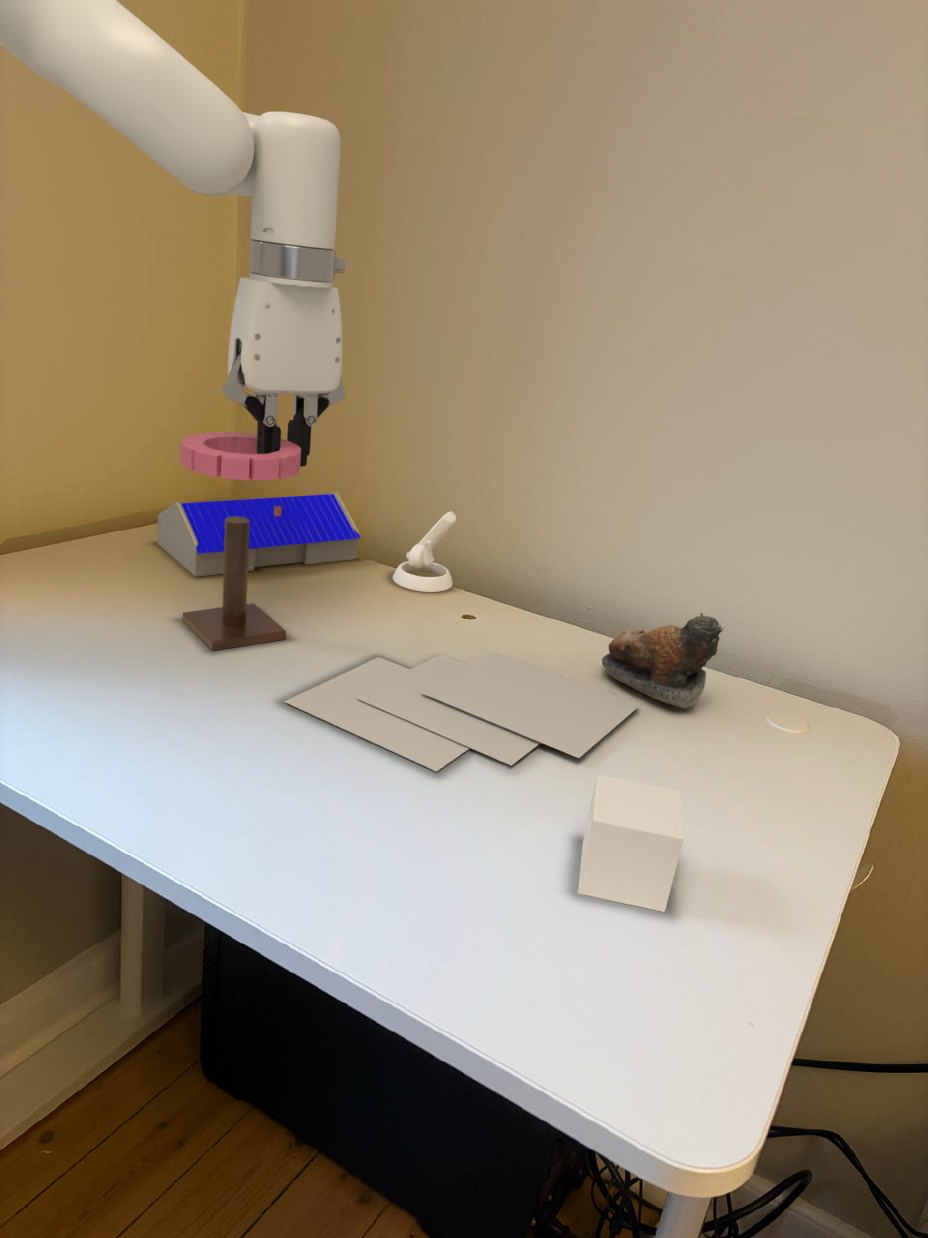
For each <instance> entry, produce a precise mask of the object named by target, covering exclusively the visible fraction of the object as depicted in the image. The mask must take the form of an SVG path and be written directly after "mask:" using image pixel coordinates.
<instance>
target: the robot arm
mask: <svg viewBox="0 0 928 1238" xmlns="http://www.w3.org/2000/svg"><path fill="white" fill-rule="evenodd" d="M0 46H2V47H3V48H4V49H5V50H6V51H7V52H9V53H10V54H11V55H12V56H13V57H15V58H16V59H17V60H19V61H20V62H21V63H22V64H23V65H25V66H27V68H28V69H30V70H31V71H33V72H34V73H35V74H36V75H38V76H39V77H41V78H42V79H44V80H46V81H48V82H50V83H52V84H54V85H56V86H58V87H60V88H61V89H62V90H64V91H66V92H67V93H68V94H70V95H71V96H73V97H74V98H76V99H77V100H78V101H79V102H81V104H83V105H84V106H85V107H87V108H88V109H89V110H91V111H92V112H93V113H95V115H97V116H98V117H99V118H101V119H103V120H104V122H106V123H107V124H108V125H109V126H111V127H112V128H113V129H115V130H116V131H117V132H118V133H120V134H121V135H122V136H123V137H125V138H126V139H127V140H129V141H130V143H132V144H133V145H134V146H135V147H137V148H138V149H140V150H141V151H142V152H143V153H144V154H146V155H147V156H148V157H149V158H150V159H152V160H153V161H154V162H155V163H156V164H157V165H159V166H160V167H161V168H163V169H164V170H165V171H166V172H167V173H168V174H170V175H171V176H172V177H173V178H174V179H175V180H177V181H178V183H180V184H181V185H182V186H184V187H185V188H187V189H188V190H189V191H192V192H194V193H196V194H199V195H202V196H209V197H210V196H211V197H218V196H249V197H250V196H251V219H250V244H249V245H250V248H249V277H247V276H241V277H240V278H239V282H238V285H237V291H236V294H235V299H234V305H233V310H232V317H231V324H230V334H229V344H228V356H227V373H228V374H227V375H228V376H227V379H226V380H225V383H224V385H223V387H222V390H221V394H222V396H223V397H225V398H227V399H229V400H231V401H233V402H235V403H238V404H239V405H242V406H243V407H244V408H245V409H246V411H247V412H248V413H249V414H250V415H251V416H252V418H253V420H255V421H256V422H257V424H256V425H257V427H256V434H257V454H268V453H272V452H276V451H279V450H280V445H281V439H282V429H281V428H282V427H280V426H278V425H277V413H278V402H279V401H278V400H279V394H289V395H290V394H293V416H292V419H289V420H288V422H287V434H286V435H287V437H286V441H290V442H292V443H294V444H296V445H297V446H299V447H300V448H301V463H300V468H301V467H302V468H303V467H307V465H308V456H309V455H310V454H311V439H312V427H314V426H316V425H317V422H318V418H319V417H320V416H321V415H322V414H323V413H324V412H325V411H326V410H327V409H328V408H329V407H330V406H333V405H335V404H337V403H340V402H341V401H343V400H344V399H345V398H346V397H347V396H346V395H347V393H346V390H345V386H344V383H343V381H342V368H343V322H342V309H341V301H340V295H339V288H338V287H336V286H333V281H335V275H336V274H343V273H344V272H345V269H346V261H345V259H344V258H342V257H341V258H340V257H337V255H336V254H337V251H336V250H335V246H336V241H335V240H336V232H337V231H336V230H337V218H338V217H337V215H338V214H337V213H338V200H339V199H338V198H339V185H340V184H339V181H340V169H341V168H340V167H341V166H340V165H341V152H342V151H341V149H342V148H341V146H342V145H341V143H342V142H341V141H342V140H341V135H340V131H339V130H338V128H337V126H336V125H335V124H334V123H332V122H330V120H328V119H325V118H321V117H318V116H314V115H310V114H304V113H297V112H292V111H267V112H264V113H262V114H261V115H257V114H253V113H248V112H244V111H242V110H241V108H240V107H239V106H238V105H237V103H235V102H234V101H233V99H232V98H230V97H229V96H228V95H227V94H226V93H225V92H224V91H223V90H222V89H220V87H219V86H217V85H216V84H215V83H213V81H212V80H210V79H209V78H208V77H207V76H206V75H204V74H203V73H202V72H201V71H200V70H199V69H198V68H196V67H195V65H193V64H192V63H190V61H188V60H187V59H186V57H184V56H183V55H182V54H181V53H180V52H178V51H177V50H176V49H175V48H173V46H171V45H170V44H169V43H168V42H166V40H164V39H163V38H162V37H161V36H159V35H158V34H157V33H156V32H155V31H154V30H152V29H151V28H150V27H149V26H148V25H146V24H145V23H144V22H143V21H142V20H140V18H138V17H137V16H136V15H135V14H134V13H132V12H131V11H129V9H127V7H125V6H124V5H123V4H121V3H120V2H119V0H0ZM245 386H246V388H247V389H248V390H250V391H252V392H253V395H252V394H250V393H248V392H246V391H245V388H244V387H245Z"/></svg>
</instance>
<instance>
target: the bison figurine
mask: <svg viewBox="0 0 928 1238" xmlns="http://www.w3.org/2000/svg"><path fill="white" fill-rule="evenodd" d="M724 629H725V625H724V622H722V623H721V625H720V624H719V621H718V620H717V618H715V617H711V616H708V615H704V613H703V612H700V614H698V615H697V616H695V617H694V618H693V617H692V618H691V619H689V620H687V622H686V624H685V625H684V626H683V627H678V626H676V625H673V624H671V625H665V626H663V625H662V626H660V627H657V628H654V629H652V630H649V631H645V630H644V629H642V628H640V627H639V628H634V629H630V630H625V631H621V632H620V633H618V634H617V635H616V636H615V637H614V638H613V639H612V640H611V641H610V643H609V644H608V653H606V654H604V656H603V657H602V658H601V665H602V667H603V668H604V669H605V671H606V672H607V673H608V674H609V675H610V676H611V677H612V678H613V679H614V680H616V681H618V682H620V683H622V684H625V685H627V686H629V687H630V688H632V689H633V690H635V691H637V692H639V693H641V694H644V695H645V696H647V697H650V698H652V699H654V700H656V701H659V702H662V703H664V704H668V705H670V706H674V707H677V708H681V709H682V708H683V709H687V708H690V707H692V706H694V705H695V703H696V702H697V701H698V700H699V698H700V696H701V695H702V693H703V692H704V689H705V686H706V677H707V672H706V670H705V669H703V668H704V667H705V666H707V663H708V661H710V660H711V659H712V657H714V656H716V655H717V653H718V646H719V641H720V634H721V633H722V632H723V631H724Z"/></svg>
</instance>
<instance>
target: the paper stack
mask: <svg viewBox="0 0 928 1238" xmlns="http://www.w3.org/2000/svg"><path fill="white" fill-rule="evenodd" d="M284 703H285V704H287V705H291V706H292V707H294V708H297V709H299V710H301V711H303V712H305V713H307V714H310V715H312V716H314V717H316V718H318V719H320V720H323V721H325V722H327V723H329V724H330V725H331V724H332V725H334V726H336V727H339V728H340V729H342V730H345V731H347V732H349V733H350V734H351V733H352V734H353V735H356V736H358V737H360V738H361V739H364V740H366V741H369V742H371V743H373V744H375V745H376V746H377V745H378V746H380V747H381V748H384V749H386V750H388V751H391V752H392V753H394V754H397V755H398V756H401V757H404V758H405V759H408V760H410V761H412V762H415V763H416V764H419V765H421V766H423V767H425V768H428V769H429V770H432V771H434V772H438V771H440V770H441V769H442V768H444V767H445V766H447V765H448V764H450V763H451V762H452V761H454V760H455V759H457V758H458V757H460V756H461V755H463V754H464V753H466V752H467V751H468V750H470V749H471V750H474V751H476V752H479V753H481V754H482V755H483V754H484V755H486V756H488V757H491V758H492V759H495V760H497V761H499V762H502V763H504V764H507V765H508V766H511V767H512V766H513V765H515V764H516V763H517V762H518V761H520V760H521V759H522V758H524V757H525V756H526V755H528V754H529V753H530V752H531V751H533V750H534V749H535V748H536V747H538V746H539V745H541V744H543V745H546V746H548V747H551V748H553V749H556V750H558V751H560V752H563V753H564V754H568V755H570V756H572V757H574V758H577V759H580V758H581V757H582V756H584V755H585V754H586V753H587V752H588V751H589V750H590V749H592V748H593V747H594V746H596V744H597V743H599V742H601V740H602V739H603V738H605V736H606V735H608V734H609V733H611V731H612V730H614V729H615V728H616V727H618V725H619V724H621V723H622V722H623V721H624V720H625V719H626V718H627V717H629V716H630V715H631V714H633V712H635V710H637V709H638V708H639V707H640V706H641V705H642V704H641V703H638V702H636V701H633V700H631V699H628V698H626V697H623V696H620V695H617V694H614V693H611V692H609V691H606V690H603V689H601V688H599V687H595V686H593V685H591V684H587V683H585V682H582V681H579V680H576V679H574V678H571V677H570V676H569V677H568V676H566V675H563V674H560V673H558V672H555V671H552V670H550V669H547V668H545V667H542V666H539V665H536V664H534V663H530V662H528V661H526V660H523V659H520V658H517V657H515V656H512V655H509V654H507V653H505V652H502V651H498V650H494V651H492V652H490V653H488V654H486V655H484V656H483V657H481V658H480V659H478V660H476V661H474V662H472V663H470V664H466V663H463V662H461V661H458V660H456V659H452V658H451V657H450V658H449V657H448V656H445V655H442V654H438V655H436V656H434V657H432V658H430V659H428V660H427V661H424V662H422V663H420V664H418V665H416V666H414V667H413V668H411V669H410V668H407V667H405V666H402V665H400V664H397V663H395V662H392V661H390V660H387V659H386V658H382V657H380V656H378V657H375V658H373V659H371V660H368V661H367V662H364V663H363V664H361V665H358V666H356V667H354V668H352V669H350V670H348V671H346V672H344V673H342V674H340V675H337V676H335V677H332V678H331V679H328V680H327V681H325V682H322V683H321V684H318V685H316V686H314V687H312V688H310V689H308V690H305V691H303V692H301V693H298V694H297V695H295V696H293V697H291V698H288V699H286V700H284Z"/></svg>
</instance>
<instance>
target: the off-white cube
mask: <svg viewBox="0 0 928 1238" xmlns="http://www.w3.org/2000/svg"><path fill="white" fill-rule="evenodd" d="M683 826H684V825H683V815H682V800H681V791H680V790H674V789H669V788H665V787H659V786H655V785H649V784H644V783H639V782H634V781H629V780H625V779H620V778H614V777H609V776H606V775H600V774H596V778H595V782H594V787H593V792H592V795H591V801H590V805H589V811H588V815H587V819H586V826H585V830H584V834H583V840H582V846H581V857H580V866H579V876H578V885H577V894H579V895H584V896H587V897H593V898H597V899H602V900H607V901H612V902H616V903H620V904H625V905H629V906H634V907H638V908H644V909H647V910H652V911H657V912H662V913H665V912H666V910H667V905H668V902H669V898H670V893H671V891H672V887H673V883H674V878H675V875H676V871H677V867H678V863H679V859H680V856H681V851H682V847H683V843H684V839H685V838H684V827H683Z"/></svg>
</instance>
